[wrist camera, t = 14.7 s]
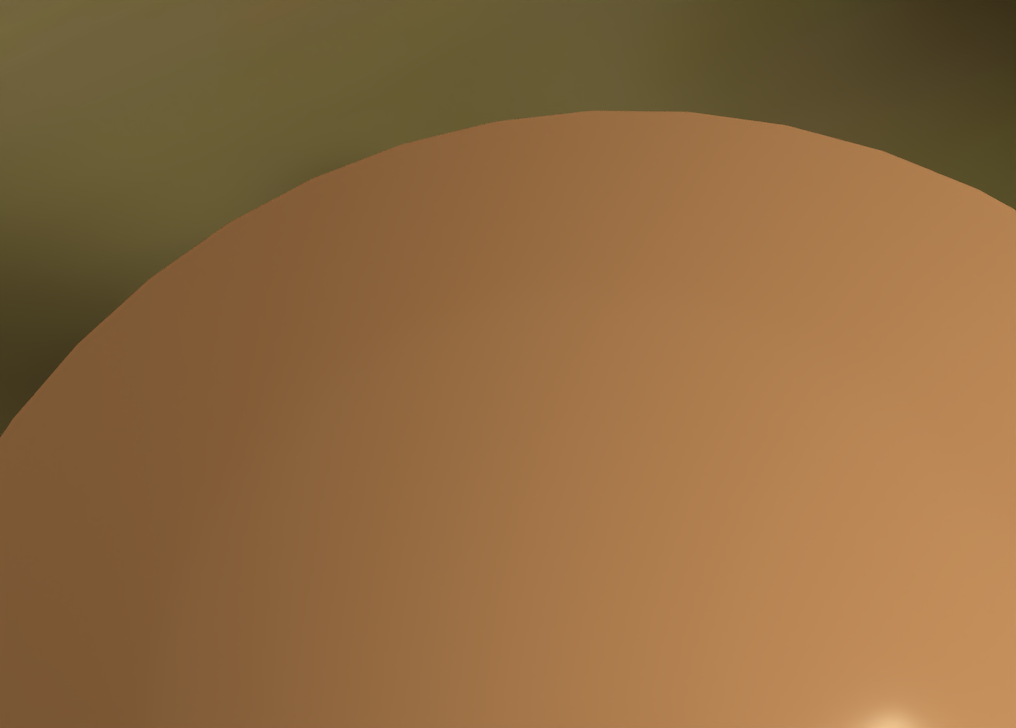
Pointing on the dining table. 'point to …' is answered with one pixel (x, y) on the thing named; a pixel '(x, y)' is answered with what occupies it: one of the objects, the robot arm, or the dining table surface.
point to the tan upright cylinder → (538, 449)
